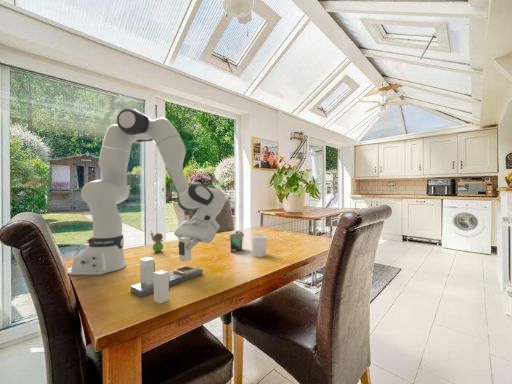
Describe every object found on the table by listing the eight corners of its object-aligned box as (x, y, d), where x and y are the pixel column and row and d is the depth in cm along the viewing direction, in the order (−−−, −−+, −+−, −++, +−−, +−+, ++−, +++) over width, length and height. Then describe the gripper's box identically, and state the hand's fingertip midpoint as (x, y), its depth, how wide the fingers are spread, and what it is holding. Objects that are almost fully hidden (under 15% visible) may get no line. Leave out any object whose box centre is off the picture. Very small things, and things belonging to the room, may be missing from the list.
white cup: (258, 252, 133) (258, 234, 133) (270, 255, 128) (270, 236, 128) (249, 255, 127) (248, 236, 127) (260, 258, 122) (260, 238, 122)
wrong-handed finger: (160, 303, 75) (160, 274, 74) (153, 300, 77) (153, 272, 76) (170, 299, 77) (170, 271, 77) (163, 296, 79) (163, 269, 79)
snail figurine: (151, 251, 137) (150, 229, 137) (163, 250, 139) (163, 229, 139) (150, 253, 132) (150, 231, 131) (163, 252, 134) (163, 230, 134)
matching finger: (184, 262, 95) (183, 239, 94) (178, 260, 97) (178, 238, 96) (191, 259, 97) (191, 237, 97) (185, 258, 99) (185, 236, 99)
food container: (240, 253, 131) (240, 235, 131) (229, 253, 133) (229, 234, 132) (246, 248, 143) (246, 231, 143) (236, 247, 145) (236, 230, 145)
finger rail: (141, 297, 79) (141, 263, 79) (130, 291, 83) (130, 259, 83) (202, 274, 100) (202, 247, 100) (191, 270, 104) (191, 245, 104)
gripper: (182, 214, 109) (163, 240, 101) (215, 217, 97) (196, 247, 89) (190, 223, 112) (172, 249, 105) (223, 227, 100) (205, 256, 93)
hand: (183, 248), depth 97 cm, fingers closed on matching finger, 3 cm apart
